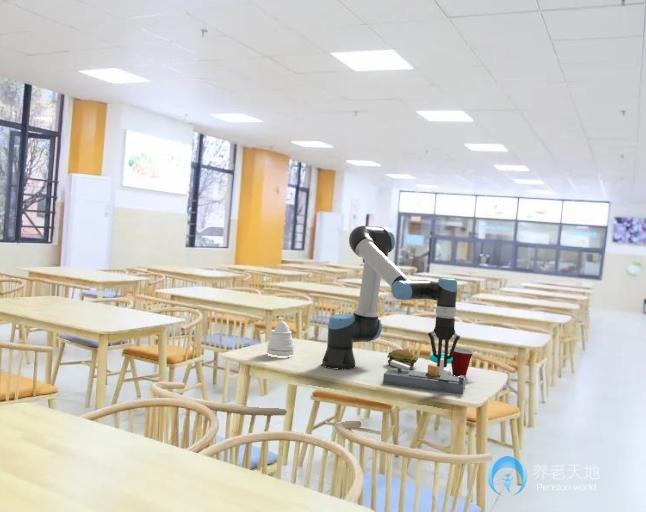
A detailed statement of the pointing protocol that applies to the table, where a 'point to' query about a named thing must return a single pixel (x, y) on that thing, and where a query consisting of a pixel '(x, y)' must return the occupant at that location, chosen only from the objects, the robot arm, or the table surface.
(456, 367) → the plastic cup
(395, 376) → the console panel
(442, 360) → the robot arm
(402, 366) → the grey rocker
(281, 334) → the honey pot
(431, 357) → the donuts
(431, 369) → the orange button
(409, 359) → the food
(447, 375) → the slider knob
